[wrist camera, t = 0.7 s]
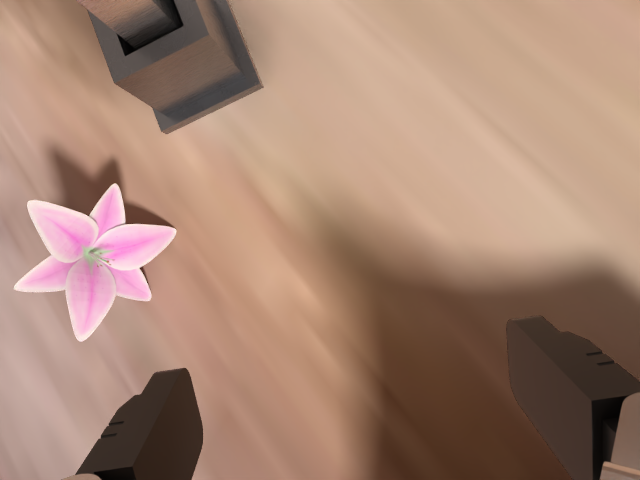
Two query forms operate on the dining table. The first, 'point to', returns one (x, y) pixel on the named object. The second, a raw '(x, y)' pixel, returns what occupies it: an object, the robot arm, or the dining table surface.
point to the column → (137, 18)
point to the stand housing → (184, 64)
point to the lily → (93, 257)
